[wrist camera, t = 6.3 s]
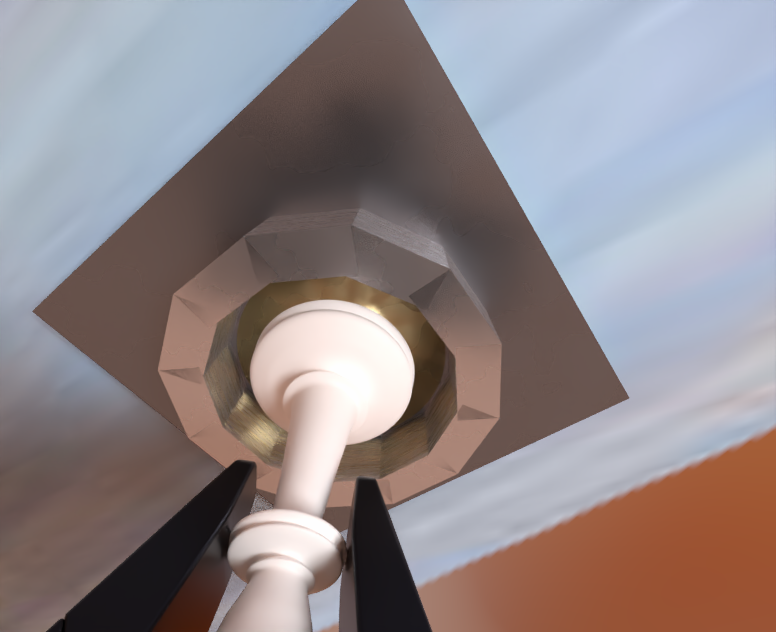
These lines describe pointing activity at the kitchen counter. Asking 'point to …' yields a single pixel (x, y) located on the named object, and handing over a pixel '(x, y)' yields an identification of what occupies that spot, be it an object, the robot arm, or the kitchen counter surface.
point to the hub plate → (349, 157)
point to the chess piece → (312, 450)
